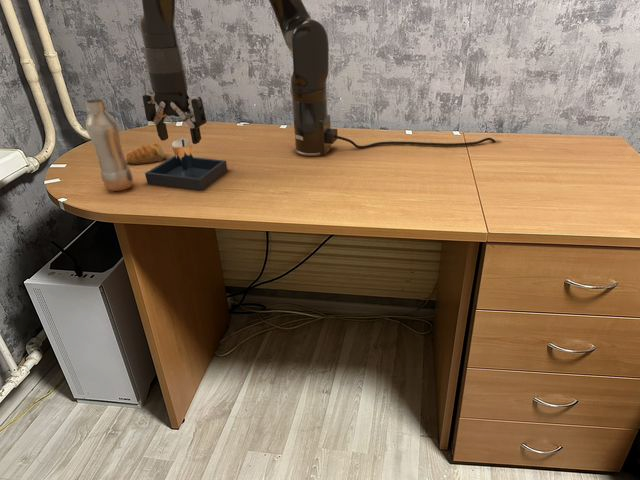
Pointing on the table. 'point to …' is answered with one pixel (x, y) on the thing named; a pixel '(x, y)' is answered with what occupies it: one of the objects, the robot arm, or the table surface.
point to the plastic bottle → (107, 146)
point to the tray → (172, 177)
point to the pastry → (146, 154)
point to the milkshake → (184, 156)
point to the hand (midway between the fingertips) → (180, 141)
